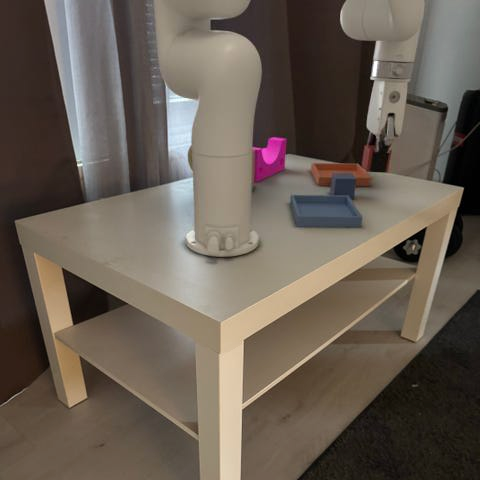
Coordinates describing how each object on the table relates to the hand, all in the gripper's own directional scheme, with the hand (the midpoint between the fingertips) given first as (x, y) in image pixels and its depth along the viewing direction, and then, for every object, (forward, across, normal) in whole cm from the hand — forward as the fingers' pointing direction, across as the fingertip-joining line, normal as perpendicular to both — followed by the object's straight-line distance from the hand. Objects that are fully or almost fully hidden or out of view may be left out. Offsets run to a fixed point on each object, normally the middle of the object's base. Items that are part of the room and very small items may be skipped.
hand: (374, 167), depth 102 cm
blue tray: (+7, -10, +11) cm, 17 cm away
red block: (0, 0, 0) cm, 0 cm away
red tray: (+7, +18, +3) cm, 19 cm away
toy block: (+7, +21, +23) cm, 32 cm away
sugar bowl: (+8, +6, +31) cm, 33 cm away
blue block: (+7, +3, +5) cm, 9 cm away
